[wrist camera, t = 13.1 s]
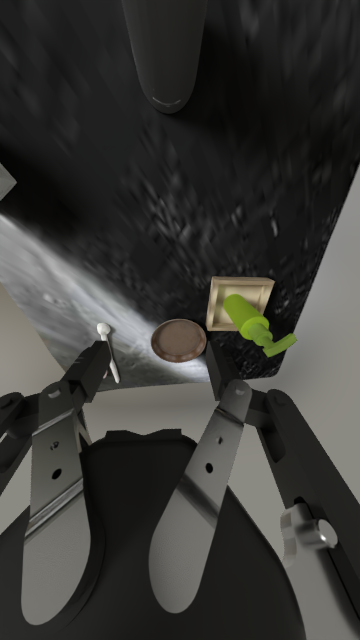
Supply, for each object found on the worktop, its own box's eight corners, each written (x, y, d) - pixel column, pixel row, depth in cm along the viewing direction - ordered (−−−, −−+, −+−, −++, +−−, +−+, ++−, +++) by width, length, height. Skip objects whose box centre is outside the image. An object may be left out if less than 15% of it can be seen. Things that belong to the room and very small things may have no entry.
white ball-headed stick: (126, 380, 60) (124, 387, 57) (116, 381, 60) (113, 387, 57) (110, 322, 45) (107, 327, 43) (97, 322, 45) (92, 327, 43)
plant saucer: (214, 324, 47) (216, 329, 45) (191, 361, 55) (192, 368, 53) (161, 306, 43) (160, 311, 41) (145, 349, 52) (144, 356, 49)
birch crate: (212, 276, 39) (215, 280, 36) (267, 277, 40) (274, 281, 37) (205, 324, 47) (207, 330, 44) (251, 324, 47) (257, 330, 44)
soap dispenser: (250, 302, 42) (303, 349, 25) (229, 316, 44) (265, 368, 27) (240, 287, 40) (291, 327, 23) (219, 302, 42) (251, 350, 25)
